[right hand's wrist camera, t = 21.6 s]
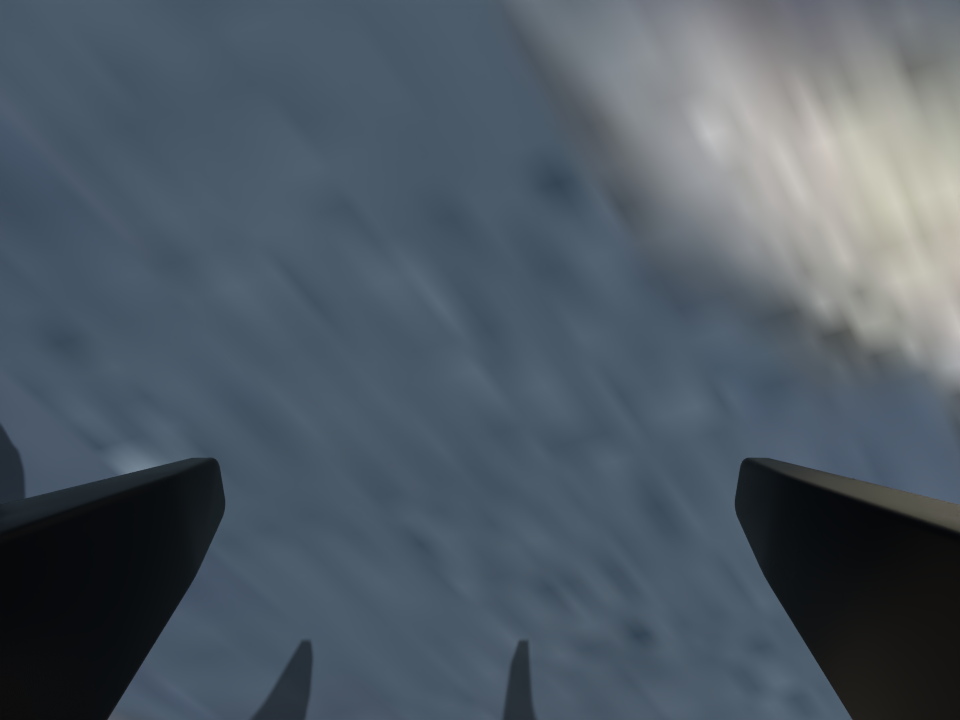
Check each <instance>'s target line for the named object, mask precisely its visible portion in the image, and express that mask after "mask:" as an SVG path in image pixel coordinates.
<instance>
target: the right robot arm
mask: <svg viewBox="0 0 960 720" xmlns="http://www.w3.org/2000/svg"><path fill="white" fill-rule="evenodd" d="M224 510H225V496H224V490H223V484H222V478H221V472H220V466H219V463H218V461H217V460H216V459H214V458H190V459H186V460H182V461H178V462H174V463H170V464H165V465H161V466H157V467H153V468H149V469H145V470H141V471H137V472H133V473H129V474H124V475H120V476H116V477H112V478H108V479H104V480H100V481H96V482H92V483H87V484H83V485H79V486H75V487H71V488H67V489H63V490H59V491H55V492H51V493H46V494H42V495H38V496H34V497H30V498H26V499H22V500H18V501H14V502H10V503H5V504H1V505H0V720H107V719H108V718H109V716H110V715H111V713H112V711H113V710H114V708H115V707H116V705H117V703H118V702H119V700H120V698H121V697H122V695H123V694H124V692H125V690H126V689H127V687H128V685H129V684H130V682H131V681H132V679H133V677H134V676H135V674H136V672H137V671H138V669H139V668H140V666H141V664H142V663H143V661H144V660H145V658H146V656H147V655H148V653H149V651H150V650H151V648H152V647H153V645H154V643H155V642H156V640H157V638H158V637H159V635H160V634H161V632H162V630H163V629H164V627H165V625H166V624H167V622H168V621H169V619H170V617H171V616H172V614H173V613H174V611H175V609H176V608H177V606H178V604H179V603H180V601H181V600H182V598H183V596H184V595H185V593H186V591H187V590H188V588H189V586H190V585H191V583H192V581H193V580H194V578H195V576H196V574H197V572H198V570H199V568H200V566H201V564H202V562H203V559H204V557H205V555H206V553H207V551H208V548H209V546H210V544H211V542H212V539H213V537H214V535H215V533H216V531H217V528H218V526H219V524H220V522H221V519H222V517H223V514H224ZM735 510H736V514H737V517H738V519H739V522H740V524H741V526H742V528H743V530H744V533H745V535H746V537H747V539H748V542H749V544H750V546H751V548H752V550H753V553H754V555H755V557H756V559H757V562H758V564H759V566H760V568H761V570H762V572H763V574H764V576H765V578H766V580H767V581H768V583H769V585H770V586H771V588H772V590H773V591H774V593H775V595H776V596H777V598H778V600H779V601H780V603H781V604H782V606H783V608H784V609H785V611H786V612H787V614H788V616H789V617H790V619H791V621H792V622H793V624H794V625H795V627H796V629H797V630H798V632H799V634H800V635H801V637H802V638H803V640H804V642H805V643H806V645H807V647H808V648H809V650H810V651H811V653H812V655H813V656H814V658H815V659H816V661H817V663H818V664H819V666H820V668H821V669H822V671H823V672H824V674H825V676H826V677H827V679H828V681H829V682H830V684H831V685H832V687H833V689H834V690H835V692H836V694H837V695H838V697H839V698H840V700H841V702H842V703H843V705H844V706H845V708H846V710H847V711H848V713H849V715H850V716H851V718H852V719H853V720H960V505H959V504H955V503H951V502H947V501H942V500H938V499H934V498H930V497H926V496H922V495H918V494H914V493H910V492H905V491H901V490H897V489H893V488H889V487H885V486H881V485H877V484H873V483H869V482H864V481H860V480H856V479H852V478H848V477H844V476H840V475H836V474H832V473H827V472H823V471H819V470H815V469H811V468H807V467H803V466H799V465H795V464H790V463H786V462H782V461H778V460H774V459H770V458H746V459H744V460H743V461H742V463H741V466H740V472H739V478H738V484H737V490H736V496H735Z"/></svg>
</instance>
